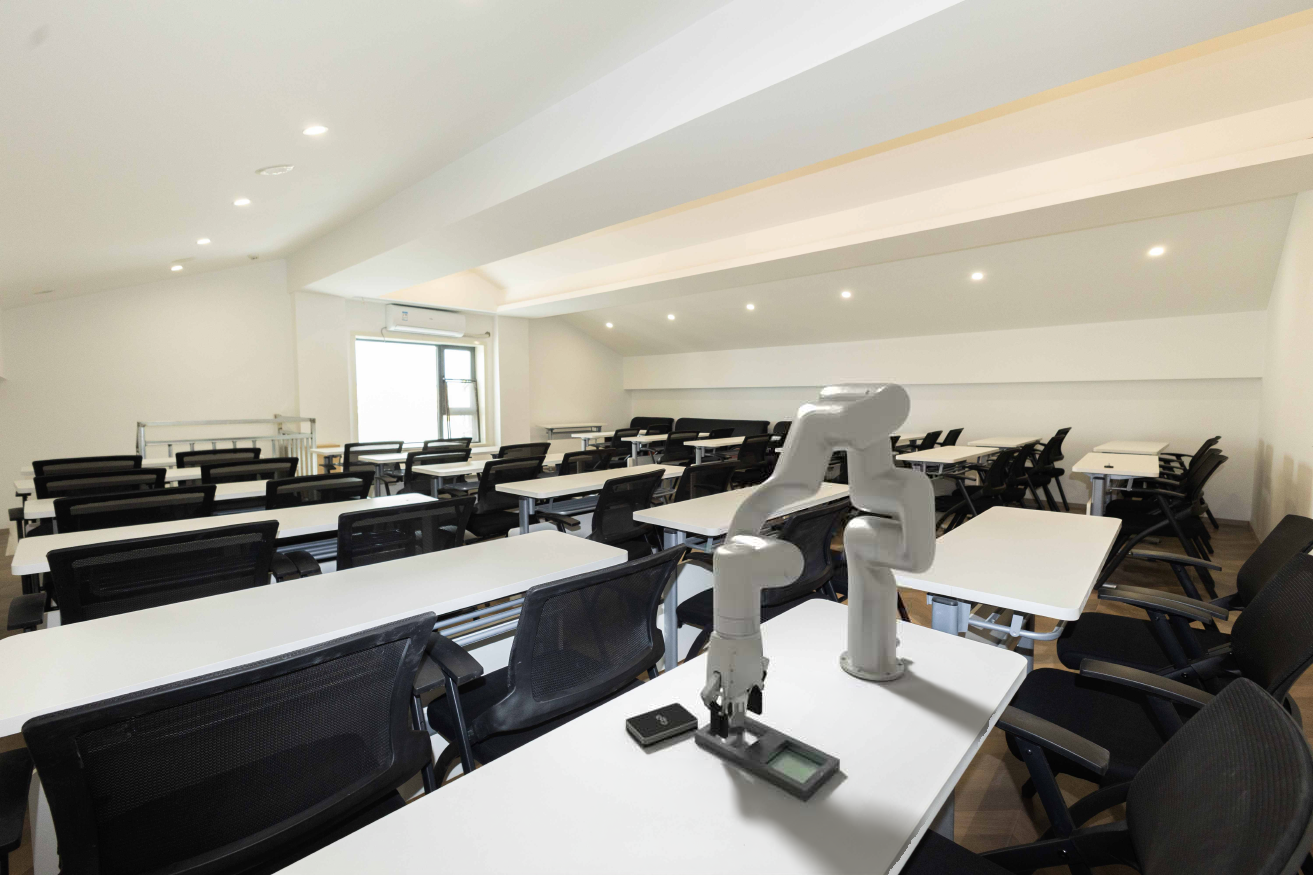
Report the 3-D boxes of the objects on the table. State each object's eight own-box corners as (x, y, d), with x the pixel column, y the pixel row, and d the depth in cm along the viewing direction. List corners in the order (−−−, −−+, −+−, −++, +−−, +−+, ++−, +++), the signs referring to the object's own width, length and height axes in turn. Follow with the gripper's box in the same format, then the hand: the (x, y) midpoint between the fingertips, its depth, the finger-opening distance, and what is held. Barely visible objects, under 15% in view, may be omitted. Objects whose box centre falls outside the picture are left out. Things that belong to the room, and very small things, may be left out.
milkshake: (752, 751, 95) (752, 691, 94) (719, 747, 96) (719, 688, 95) (753, 734, 99) (753, 677, 99) (722, 731, 101) (721, 675, 100)
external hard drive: (699, 730, 102) (699, 719, 101) (643, 751, 96) (643, 739, 96) (677, 712, 108) (677, 701, 107) (623, 730, 102) (623, 719, 102)
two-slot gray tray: (731, 717, 105) (731, 708, 105) (839, 769, 90) (839, 759, 90) (694, 741, 98) (694, 732, 98) (805, 801, 83) (805, 791, 83)
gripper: (749, 601, 105) (749, 695, 106) (683, 630, 93) (684, 735, 94) (786, 612, 100) (785, 710, 101) (721, 645, 87) (721, 756, 89)
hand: (736, 722), depth 98 cm, fingers open, 8 cm apart
